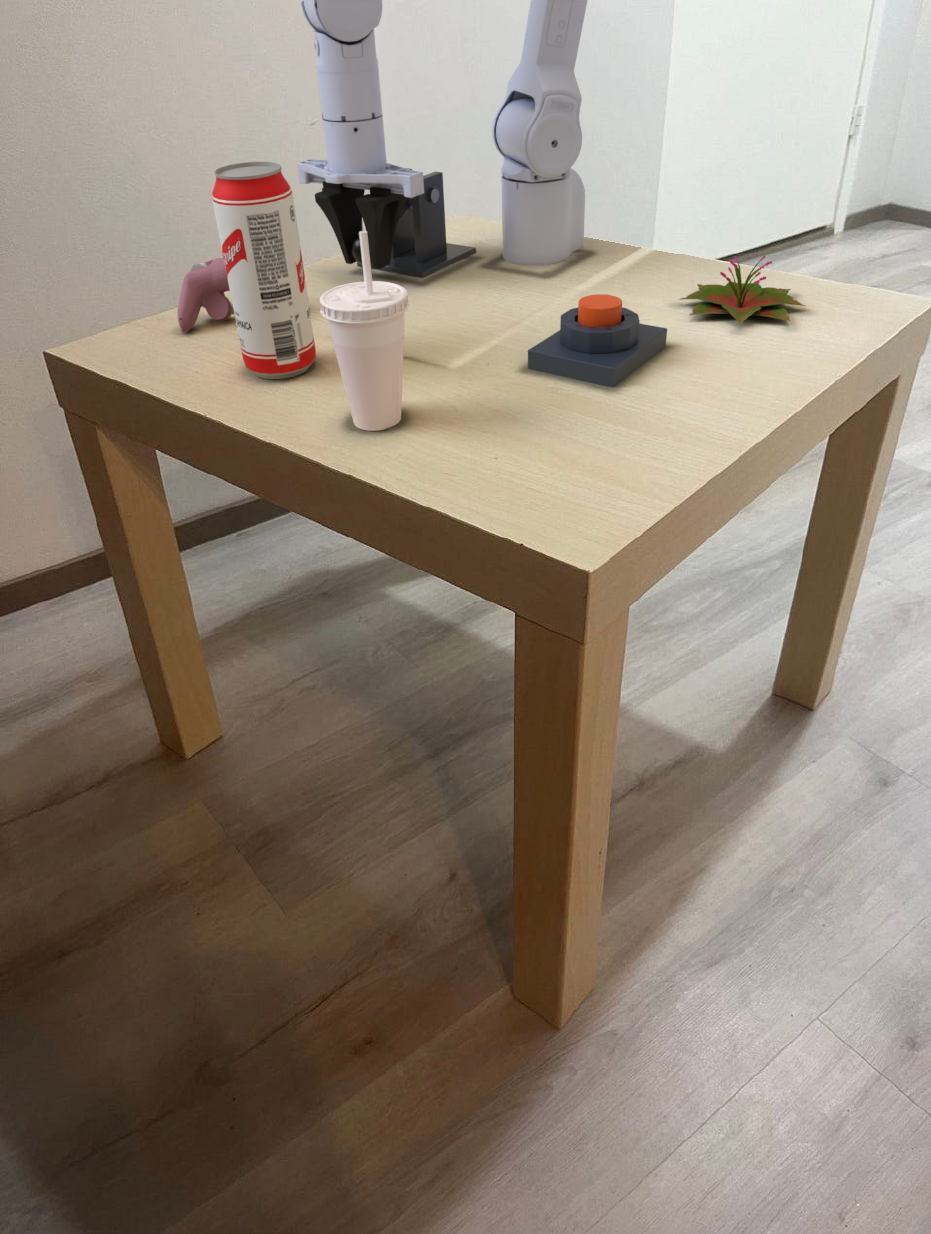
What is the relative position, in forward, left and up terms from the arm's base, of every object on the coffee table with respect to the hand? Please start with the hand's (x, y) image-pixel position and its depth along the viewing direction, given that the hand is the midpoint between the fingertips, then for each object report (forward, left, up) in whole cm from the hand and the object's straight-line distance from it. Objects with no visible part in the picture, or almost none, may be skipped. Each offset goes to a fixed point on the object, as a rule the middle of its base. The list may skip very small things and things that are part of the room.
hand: (367, 263), depth 97 cm
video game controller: (+15, -5, -3) cm, 16 cm away
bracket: (-8, 0, -2) cm, 9 cm away
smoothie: (+25, +21, -3) cm, 33 cm away
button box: (+6, +30, -2) cm, 31 cm away
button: (+6, +30, +1) cm, 31 cm away
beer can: (+21, +7, -3) cm, 22 cm away
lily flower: (-11, +36, -3) cm, 38 cm away
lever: (-5, 0, +2) cm, 5 cm away
